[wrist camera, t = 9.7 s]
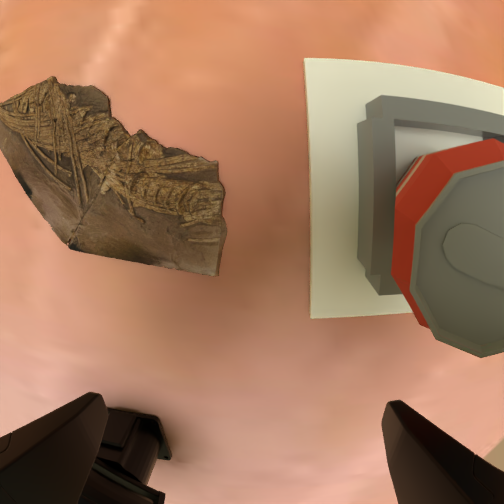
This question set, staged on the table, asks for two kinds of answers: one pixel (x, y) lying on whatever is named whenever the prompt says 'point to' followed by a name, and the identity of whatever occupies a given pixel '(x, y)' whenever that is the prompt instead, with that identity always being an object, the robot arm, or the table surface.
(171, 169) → the brown fossil slab
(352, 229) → the can holder
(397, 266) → the beverage can
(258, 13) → the table surface
